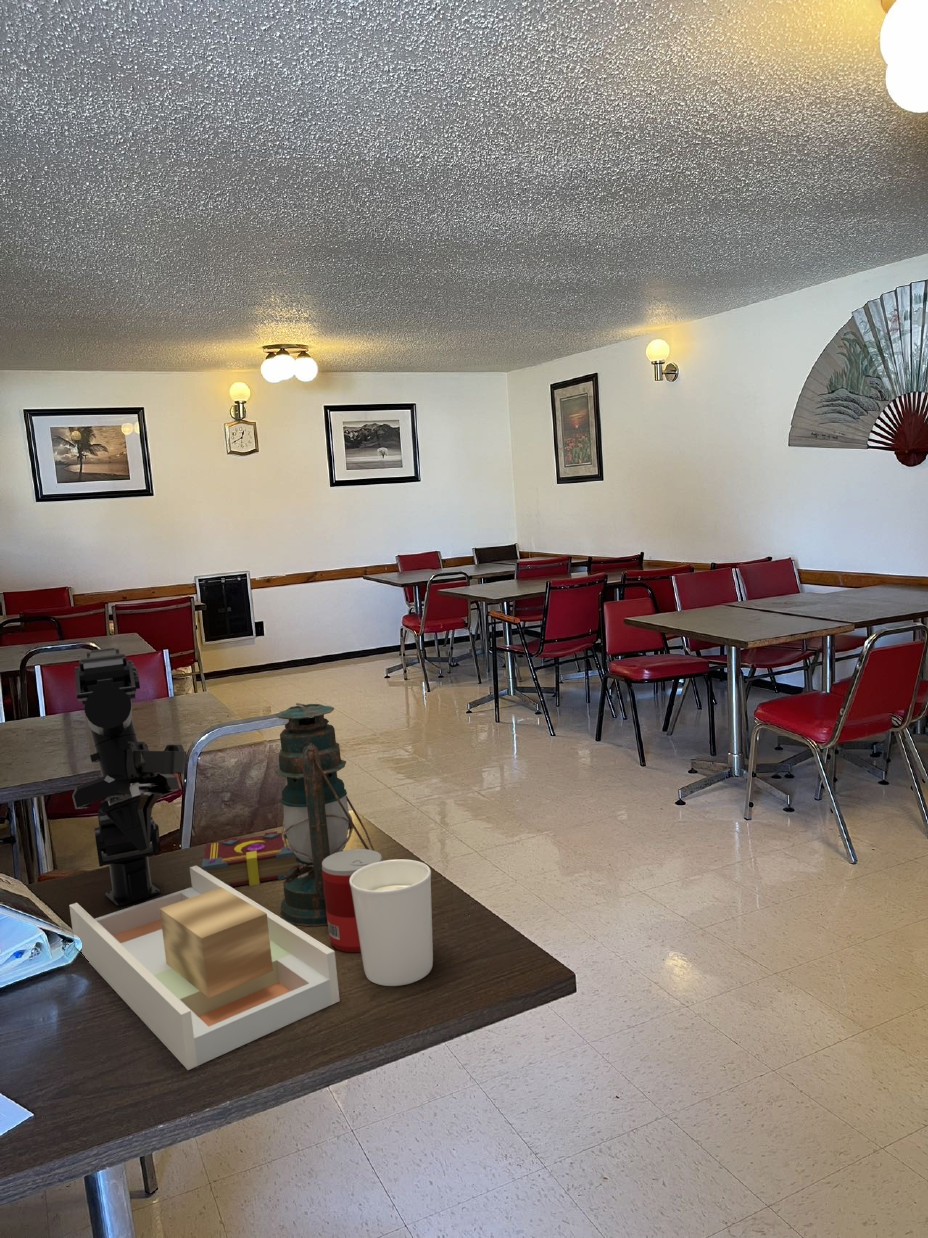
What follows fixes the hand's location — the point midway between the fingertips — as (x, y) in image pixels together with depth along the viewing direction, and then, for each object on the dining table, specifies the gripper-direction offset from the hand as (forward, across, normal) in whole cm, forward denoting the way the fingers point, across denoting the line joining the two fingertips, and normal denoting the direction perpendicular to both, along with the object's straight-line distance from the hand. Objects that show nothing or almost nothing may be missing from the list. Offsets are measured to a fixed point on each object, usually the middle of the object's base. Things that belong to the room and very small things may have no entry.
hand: (144, 850), depth 123 cm
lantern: (+16, +12, -19) cm, 27 cm away
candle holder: (+25, -7, -31) cm, 40 cm away
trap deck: (+17, -6, -6) cm, 19 cm away
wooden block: (+17, -12, -11) cm, 24 cm away
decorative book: (+8, +25, -4) cm, 27 cm away
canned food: (+21, +1, -25) cm, 32 cm away
